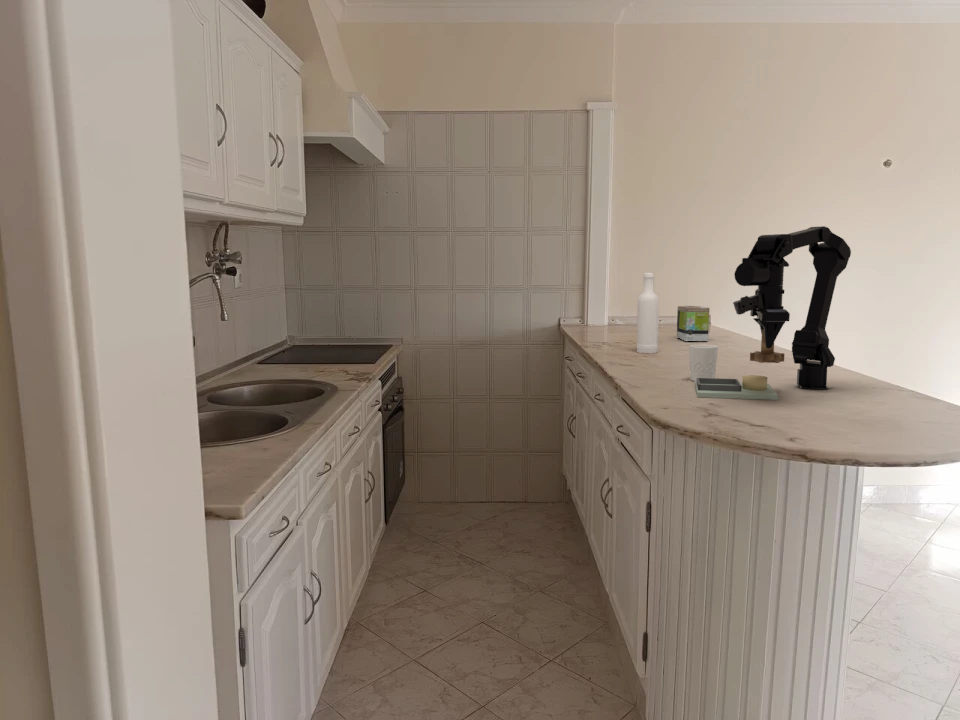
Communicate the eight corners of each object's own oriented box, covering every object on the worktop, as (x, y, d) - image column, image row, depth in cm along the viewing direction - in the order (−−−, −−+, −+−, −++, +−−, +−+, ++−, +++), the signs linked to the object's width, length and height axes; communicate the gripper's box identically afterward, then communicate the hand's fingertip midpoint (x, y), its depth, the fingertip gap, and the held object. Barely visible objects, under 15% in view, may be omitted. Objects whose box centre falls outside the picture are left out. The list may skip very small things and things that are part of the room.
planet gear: (780, 359, 177) (782, 328, 176) (786, 363, 170) (788, 331, 169) (747, 358, 179) (749, 328, 178) (752, 362, 172) (753, 330, 171)
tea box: (709, 342, 290) (710, 307, 288) (685, 342, 291) (686, 307, 288) (698, 338, 305) (699, 305, 303) (675, 338, 305) (676, 305, 303)
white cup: (698, 383, 195) (699, 348, 193) (683, 378, 202) (683, 345, 201) (722, 381, 197) (723, 346, 196) (706, 377, 204) (707, 343, 203)
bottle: (633, 353, 260) (635, 273, 256) (639, 350, 267) (640, 272, 262) (655, 354, 256) (656, 273, 252) (660, 351, 263) (661, 272, 259)
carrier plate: (768, 387, 186) (768, 372, 186) (778, 399, 170) (778, 383, 170) (694, 385, 191) (695, 370, 191) (697, 397, 175) (698, 380, 174)
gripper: (731, 284, 183) (729, 342, 185) (741, 286, 165) (738, 351, 167) (776, 284, 180) (773, 343, 182) (791, 286, 162) (788, 352, 164)
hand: (767, 347), depth 174 cm, fingers closed on planet gear, 3 cm apart
